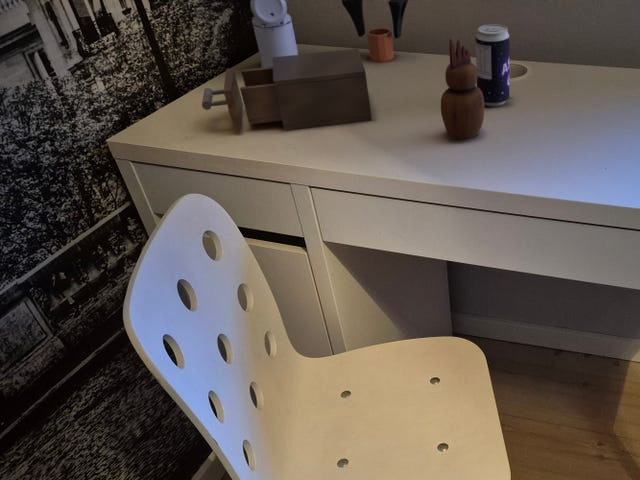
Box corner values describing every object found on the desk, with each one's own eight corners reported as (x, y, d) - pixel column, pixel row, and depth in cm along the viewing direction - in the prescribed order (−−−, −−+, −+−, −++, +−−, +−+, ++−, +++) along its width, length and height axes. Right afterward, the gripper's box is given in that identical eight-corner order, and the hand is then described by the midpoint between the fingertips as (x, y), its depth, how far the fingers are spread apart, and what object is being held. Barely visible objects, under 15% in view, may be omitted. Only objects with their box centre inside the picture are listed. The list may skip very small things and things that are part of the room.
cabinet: (284, 130, 111) (273, 81, 105) (282, 104, 119) (272, 57, 114) (372, 120, 113) (365, 71, 107) (364, 95, 121) (358, 48, 116)
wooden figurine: (450, 146, 105) (445, 45, 95) (437, 132, 109) (431, 34, 99) (490, 137, 107) (488, 38, 97) (475, 124, 111) (473, 27, 101)
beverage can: (506, 108, 115) (506, 34, 107) (474, 107, 116) (472, 33, 108) (511, 96, 119) (512, 24, 111) (480, 94, 120) (479, 22, 112)
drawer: (207, 132, 109) (195, 94, 104) (211, 108, 116) (200, 71, 112) (317, 120, 111) (309, 81, 107) (314, 97, 119) (306, 60, 115)
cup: (369, 55, 137) (365, 29, 134) (392, 52, 138) (389, 26, 135) (371, 62, 134) (368, 36, 131) (395, 60, 135) (392, 34, 131)
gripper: (325, -38, 123) (338, 40, 132) (400, -36, 120) (408, 44, 129) (340, -47, 128) (351, 29, 137) (412, -45, 125) (418, 32, 134)
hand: (379, 36), depth 133 cm, fingers open, 7 cm apart
